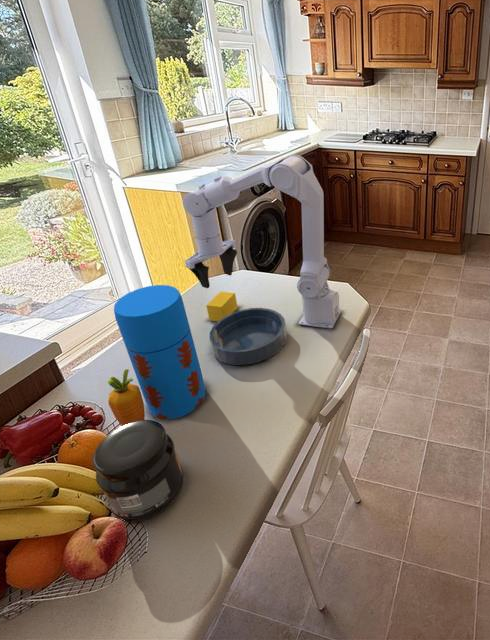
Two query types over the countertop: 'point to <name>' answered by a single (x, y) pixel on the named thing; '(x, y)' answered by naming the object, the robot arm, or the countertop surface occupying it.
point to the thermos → (161, 350)
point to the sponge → (221, 305)
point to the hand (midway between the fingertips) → (217, 280)
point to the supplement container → (138, 470)
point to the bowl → (248, 336)
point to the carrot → (126, 400)
